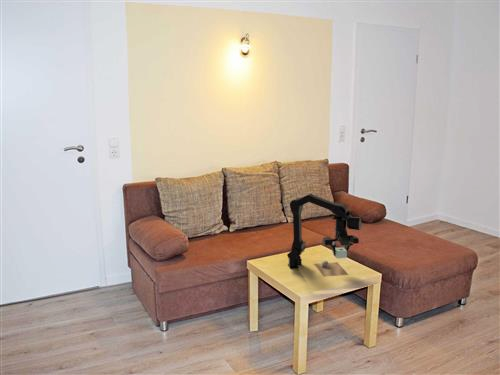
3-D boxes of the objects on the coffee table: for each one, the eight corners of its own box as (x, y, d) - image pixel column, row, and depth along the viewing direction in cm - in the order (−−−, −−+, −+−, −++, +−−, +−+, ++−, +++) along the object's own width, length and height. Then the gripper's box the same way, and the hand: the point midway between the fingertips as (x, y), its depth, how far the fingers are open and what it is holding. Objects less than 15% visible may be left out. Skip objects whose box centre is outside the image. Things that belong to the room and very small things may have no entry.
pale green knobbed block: (336, 258, 237) (336, 250, 237) (333, 254, 243) (333, 247, 242) (346, 257, 238) (347, 250, 237) (343, 254, 244) (343, 246, 243)
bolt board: (323, 278, 238) (323, 271, 237) (313, 265, 255) (313, 259, 254) (348, 276, 240) (348, 269, 239) (337, 264, 257) (337, 257, 256)
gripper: (328, 233, 228) (328, 262, 231) (363, 231, 231) (362, 259, 234) (322, 226, 239) (321, 254, 242) (355, 225, 242) (354, 252, 245)
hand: (339, 255), depth 241 cm, fingers closed on pale green knobbed block, 6 cm apart
